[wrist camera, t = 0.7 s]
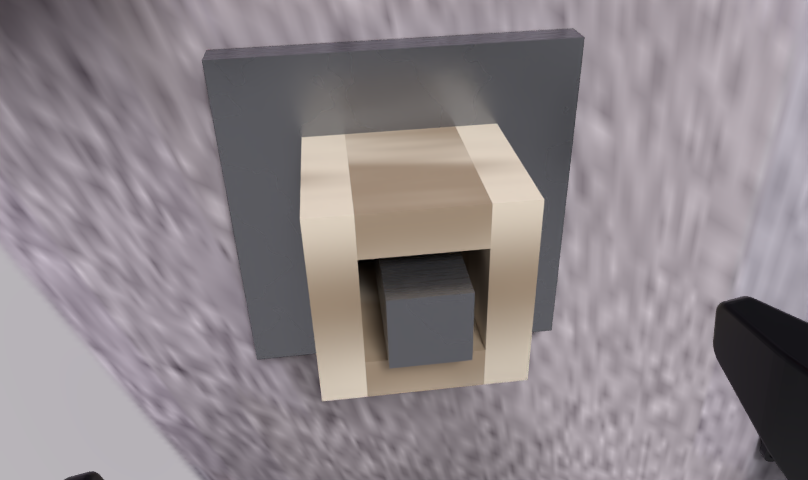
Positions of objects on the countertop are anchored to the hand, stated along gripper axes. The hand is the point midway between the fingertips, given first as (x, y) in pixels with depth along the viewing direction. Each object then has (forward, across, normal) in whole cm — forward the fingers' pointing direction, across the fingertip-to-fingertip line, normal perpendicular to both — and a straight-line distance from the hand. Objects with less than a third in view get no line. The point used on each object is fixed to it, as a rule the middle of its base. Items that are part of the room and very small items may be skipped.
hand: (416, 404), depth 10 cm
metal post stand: (+13, -1, +5) cm, 14 cm away
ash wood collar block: (+12, -1, +5) cm, 13 cm away
